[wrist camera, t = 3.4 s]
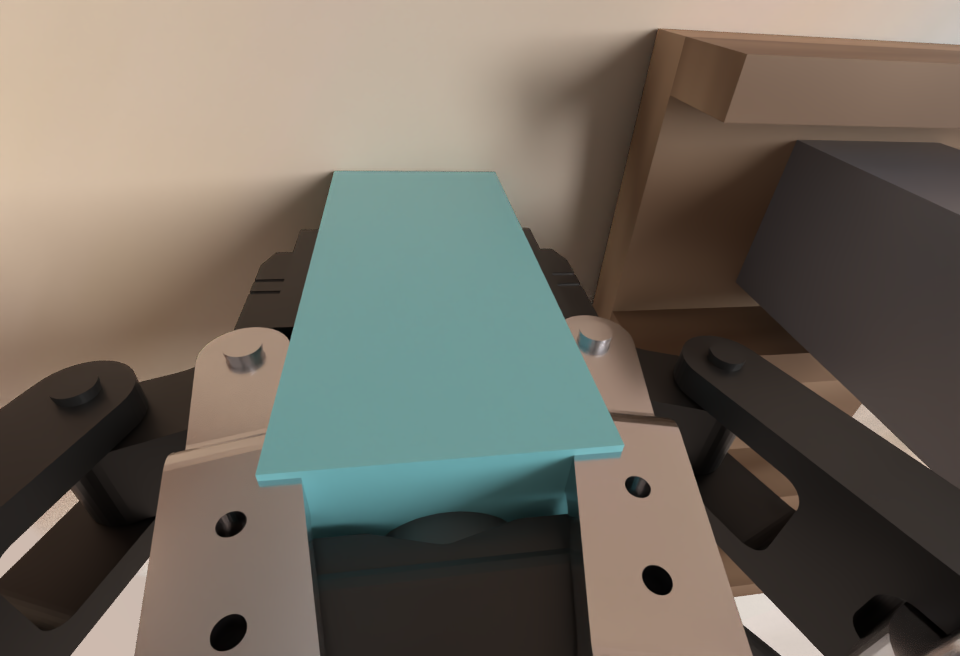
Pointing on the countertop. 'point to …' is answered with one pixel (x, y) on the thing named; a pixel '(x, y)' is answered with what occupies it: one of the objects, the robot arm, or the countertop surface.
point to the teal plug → (429, 367)
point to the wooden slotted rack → (748, 184)
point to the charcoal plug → (872, 280)
